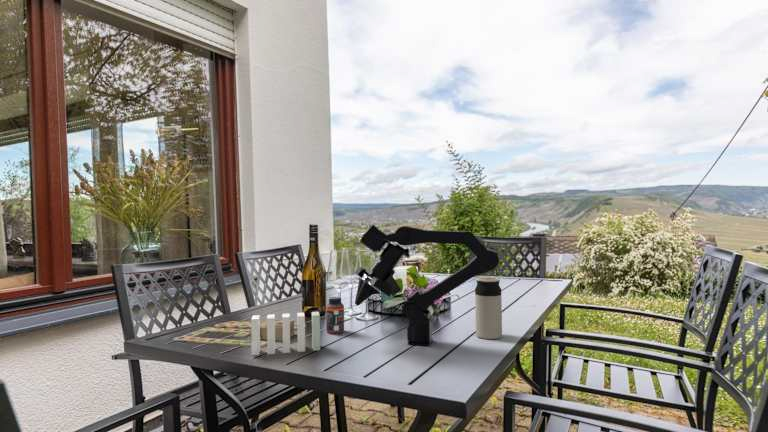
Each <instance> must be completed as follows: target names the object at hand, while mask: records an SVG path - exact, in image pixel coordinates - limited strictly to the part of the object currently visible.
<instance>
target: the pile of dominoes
mask: <svg viewBox="0 0 768 432" xmlns="http://www.w3.org/2000/svg"><path fill="white" fill-rule="evenodd" d="M305 328H307V325H306V324H305ZM296 331H297V324H295V319H293V318H290V338H291V337H293V336H295V332H296ZM206 333H223V334H232V335H233V334H234V336H233V337H234V338H239V339H230V338H229V339H228V338H227V339H226V338H224V339H221V338H211V337H209V338H208V337H200V336H202V335H205V334H206ZM247 337H250V339H251V340H244V339H245V338H247ZM240 338H241V339H243V338H244V339H243V340H241V339H240ZM262 340H264V341H262ZM265 340H266V341H265ZM172 341H173V342H178V341H187V342H186V343H194V342H195V343H194V344H203V343H204V344H205V345H221V346H233V347H238V346H239V347H242V348H243V347H245V348H252V337H251V322H250V321H245V320H244V321H238V320H237V321H236V320H232V321H226V322H222V323H221V322H220V323H217V324H214V326H213V327H204V328H201V329H198V330H195V331H193V332H190V333H187V334H184V335H182V336H177V337H174V338H173V339H172ZM275 341H282V342H283V328H282V319H281V320H279V321H275ZM266 346H267V320H262V321H260V349H261V348H265V347H266Z"/></svg>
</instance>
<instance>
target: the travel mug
mask: <svg viewBox="0 0 768 432" xmlns="http://www.w3.org/2000/svg"><path fill="white" fill-rule="evenodd" d="M475 281H476V286H475V288H474V295H475V297H474V298H475V299H474V301H475V302H474V304H475V306H474V307H475V309H474V310H475V312H474V313H475V336H476V337H478V338H479V339H484V340H498V339H500V338H502V337H503V323H502V322H503V319H502V317H503V313H502V312H503V311H502V310H503V309H502V308H503V306H502V305H503V304H502V302H503V299H502V288H501V286H500V281H501V278H499V277H493V276H481V277H479V276H478V277H476V278H475Z"/></svg>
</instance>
